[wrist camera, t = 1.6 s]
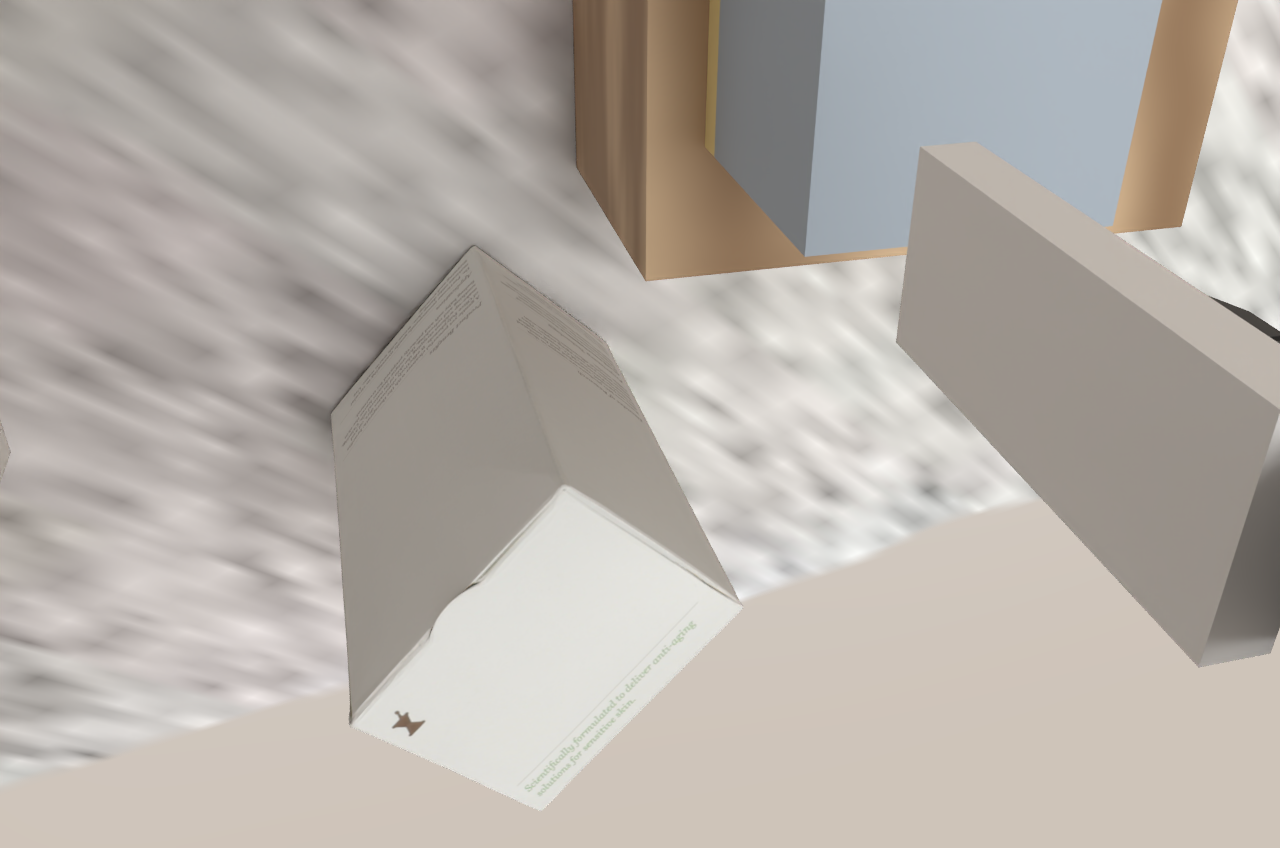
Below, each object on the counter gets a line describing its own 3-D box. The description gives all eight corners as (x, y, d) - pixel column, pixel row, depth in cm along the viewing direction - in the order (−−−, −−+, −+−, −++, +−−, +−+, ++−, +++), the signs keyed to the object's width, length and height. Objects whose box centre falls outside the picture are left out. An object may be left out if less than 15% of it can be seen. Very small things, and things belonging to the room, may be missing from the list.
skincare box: (463, 499, 45) (537, 829, 32) (313, 408, 41) (328, 737, 29) (616, 335, 43) (760, 617, 30) (471, 225, 40) (564, 490, 27)
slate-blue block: (704, 146, 30) (804, 257, 25) (714, -164, 27) (835, -121, 21) (961, 126, 32) (1112, 225, 26) (1003, -170, 28) (1191, -131, 22)
